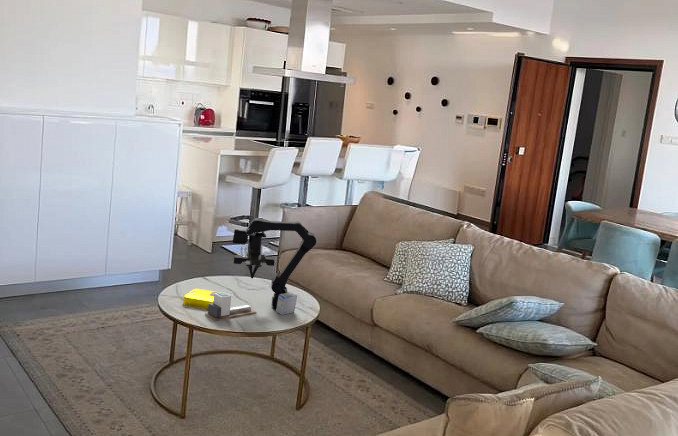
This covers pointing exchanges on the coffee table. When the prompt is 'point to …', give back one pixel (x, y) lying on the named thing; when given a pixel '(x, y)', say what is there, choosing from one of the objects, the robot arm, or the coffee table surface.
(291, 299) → the medicine box
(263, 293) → the coffee table surface
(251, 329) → the coffee table surface
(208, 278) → the coffee table surface
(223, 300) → the block
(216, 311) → the rail
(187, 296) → the element tile
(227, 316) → the mounting board
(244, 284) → the coffee table surface
